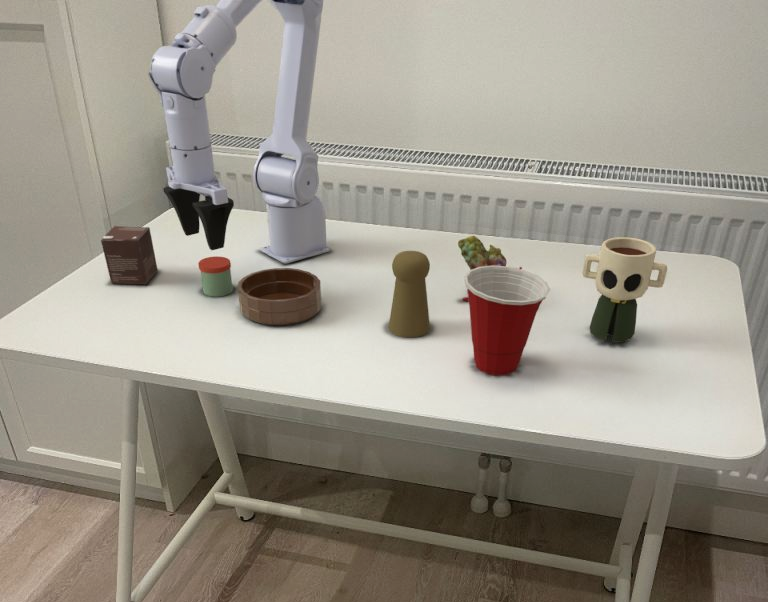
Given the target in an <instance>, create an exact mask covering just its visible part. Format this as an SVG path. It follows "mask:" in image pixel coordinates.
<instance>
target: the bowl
mask: <svg viewBox="0 0 768 602" xmlns="http://www.w3.org/2000/svg"><path fill="white" fill-rule="evenodd" d="M321 286H322V285H321V279H319V277H318V276H317V275H315V274H314V273H312V272H310V271H306V270H302V269H299V268H290V267H280V268H279V267H275V268H267V269H261V270H257V271H254V272H251V273H249V274H247V275H245V276H244V277H242V278H241V279H240V280H239V281H238V283H237V288H236V289H237V295H238V305H239V311H240V312H241V314H242V315H243V317H246V318H247V319H248V320H250V321H253V322H255V323H257V324H261V325H267V326H289V325H290V326H291V325H295V324H299V323H303V322H305V321H307V320H309V319H311V318H313V317H314V316H315V315H317V314H318V313H319V312H320V310H321V309H322V287H321Z"/></svg>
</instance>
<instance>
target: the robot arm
mask: <svg viewBox="0 0 768 602" xmlns="http://www.w3.org/2000/svg"><path fill="white" fill-rule="evenodd" d="M267 1H268V2H269V3H270V5H272V7H273V8H274V9H276V10H277V11H278V12H279V14H280V16H281V17H282V19H283V23H284V26H283V34H282V35H283V36H282V42H281V43H282V44H281V45H282V46H281V52H280V63H279V70H278V71H279V72H278V81H277V90H276V99H275V108H274V119H273V126H272V127H273V129H272V133H271V134H270V136H268V137H267V138H266V139H265V140H263V141H262V142H261V143H260V144H259V152H258V156H257V159H256V161H255V164H254V167H253V171H252V176H253V177H252V178H253V183H254V186H255V189H256V190H257V191H258V192H259V193H261V197H262V200H263V201H265V204H266V205H265V206H266V217H267V218H266V219H267V227H268V228H267V229H268V241H269V245H266V246H264V247H263V246H262V247H260V249H259V250H260V252H262V253H263V254H266V255H267V256H268V257H271V258H273V259H275V260H276V261H279V262H280V263H282V264H285V265H286V264H291V263H293V262H297V261H300V260H305V259H308V258H311V257H314V256H317V255H321V254H325V253H327V252H330V248H329V247H327V225H326V224H327V223H326V211H325V207H324V205H323V202H322V200H320V198H319V197H318V196H317V195H316V194H317V192H318V189H319V186H320V185H319V184H320V177H319V171H318V170H319V169H318V165H319V163H318V162H319V155H318V154H317V152H316V151H315V150H314V148H313V147H312V146H311V144H310V143H309V142H308V140H307V136H308V128H309V120H310V112H311V105H312V104H311V103H312V98H313V97H312V95H313V90H314V89H313V87H314V79H315V72H316V71H315V70H316V63H317V54H318V47H319V39H320V31H321V22H322V13H323V9H324V0H267ZM261 2H263V0H219V1H218V3H217V4H216V6H215V5H212V4H210V5H209V4H207V5H204V6H198V7H197V8H196V9H195V10H194V11H193V14H194V17H193V18H192V19H191V20H190V21H189V23H188V24H187V25H186V26H185V27H184V29H183V30H182V31H181V32H178V33H177V34H176V35H175V36H174V40H173V42H172V43H171V44H170V45H162V46H160V47H159V48H158V49H157V50H156V51H155V52H154V54H153V55H152V58H151V60H150V71H148V72H147V74H148V78H149V81H150V83H151V85H152V87H153V88H154V90H156V92H157V94H158V97H159V104H160V105H161V106H162V108H163V112H164V118H165V124H166V130H167V137H168V142H169V149H170V155H171V156H170V157H171V161H172V162H171V163H172V166H171V165H170V166H167V167H165V170H166V176H167V184H168V186H164V187H163V189H162V190H163V193H164V194H165V196H166V197H167V198H168V200H169V201H170V203H171V205H172V207H173V209H174V210H175V213H176V215H177V218H178V220H179V223H180V226H181V228H182V231H183V233H184V235H185V236H187V237H189V236H192V235H196V234H199V233H200V222H201V224H202V228H203V231H204V235H205V240H206V244H207V246H208V248H209V250H210V251H216V250H220V249H223V248H225V241H226V233H227V226H228V221H229V219H230V215H231V213H232V210H233V208H234V206H235V202H234V199H232V198H230V197H228V189H227V188H226V187H224V186H223V184H222V183H221V180H219V178H218V176H217V175H216V172H215V164H214V156H213V147H212V140H211V139H212V138H211V131H210V123H209V116H208V115H209V114H208V109H207V101H206V100H207V99H206V94H208V93H209V92H210V90H211V88H212V84H213V78H214V74H215V72H216V69H217V66H218V65H219V63H220V62H221V61H222V60H223V59H224V57H225V56H226V55H227V54H228V52H229V51H230V50H231V49H232V48H233V46H234V45H235V44H236V42H237V37H238V36H237V29H236V28H237V27H238V26H239V25H240V24H241V23H242V22H243V21H244V20H245V19H246V18H247V17H248V16H249V15H250V14H251V13H252V11H254V10H255V8H257V6H258V5H259V4H260V3H261ZM283 155H285V156H286V155H287V156H291V157H292V158H289V157H285V156H283ZM201 196H203V197H204V200H200V198H201Z"/></svg>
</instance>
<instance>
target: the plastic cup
mask: <svg viewBox="0 0 768 602" xmlns="http://www.w3.org/2000/svg"><path fill="white" fill-rule="evenodd" d="M463 278H464V283H465V287H466V289H467V297H468V300H467V302H468V307H469V320H470V332H471V342H472V351H473V360H474V364H475V368H476V369H477V370H478V371H480V372H481V373H484V374H487V375H492V376H506V375H511V374H512V373H514V372H516V371H517V369H518V368H519V367H518V366H519V365H520V362H521V360H522V356H523V353H524V349H525V348H526V346H527V342H528V339H529V336H530V334H531V331H532V327H533V324H534V322H535V318H536V315H537V313H538V311H539V309H540V306H541V304H542V303H543V301H544V300H546V298H547V296H548V295H549V293H550V291H551V288H550V286H549V284H548V282H547V281H546V280H545V279H544V278H542V277H540V276H539V275H537V274H535V273H532V272H530V271H528V270H526V269H523V268H522V269H519V268H517V267H513V266H507V265H506V266H483V267H478V268H475V269H472V270H470V269H469V270H468V271H467V272H466V274H465V275H464V276H463Z"/></svg>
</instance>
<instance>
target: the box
mask: <svg viewBox="0 0 768 602" xmlns="http://www.w3.org/2000/svg"><path fill="white" fill-rule="evenodd" d="M100 243H101V245H102V250H103V251H102V252H103V255H104V259H105V263H106V268H107V272H108V275H109V279H110V283H111V284H121V285H123V284H124V285H125V284H127V285H148V283H149V282H150V281H151V280H152V278H153V277H154V275H155V274H157V272H158V265H157V264H158V263H157V260H156V254H155V249H154V245H153V238H152V234H151V229H150V227H149V226H146V227H145V226H118V225H114V226H113V227H112V228H111V229H110V230H109V231H108V232H107V233H106V234H104V236H103V237H102V238H101V239H100Z"/></svg>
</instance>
